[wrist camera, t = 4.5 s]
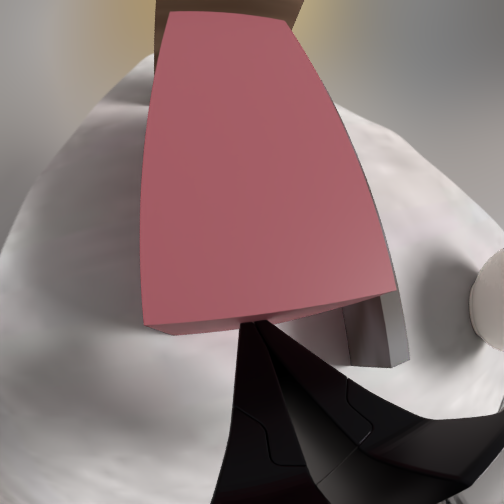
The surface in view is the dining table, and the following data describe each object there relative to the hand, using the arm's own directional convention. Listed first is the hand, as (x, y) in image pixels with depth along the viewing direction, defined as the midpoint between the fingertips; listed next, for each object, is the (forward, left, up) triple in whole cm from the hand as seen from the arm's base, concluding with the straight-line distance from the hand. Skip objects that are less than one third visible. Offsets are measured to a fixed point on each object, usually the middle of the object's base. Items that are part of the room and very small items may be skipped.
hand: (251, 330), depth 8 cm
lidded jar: (-3, -26, -7) cm, 27 cm away
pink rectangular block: (+7, 0, -7) cm, 10 cm away
